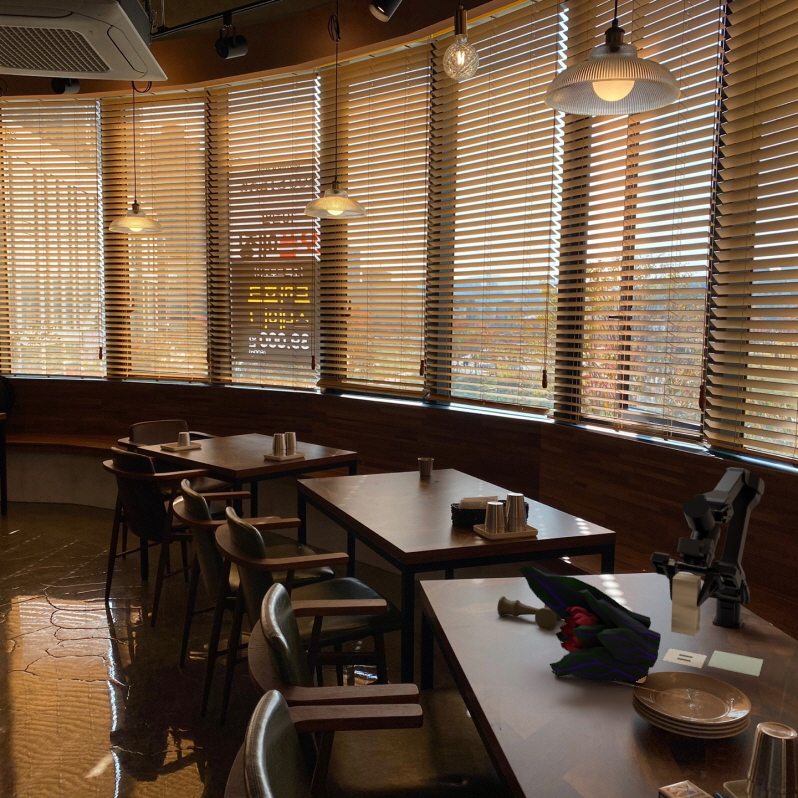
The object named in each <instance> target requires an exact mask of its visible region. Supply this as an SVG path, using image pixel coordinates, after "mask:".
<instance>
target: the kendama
mask: <svg viewBox="0 0 798 798" xmlns="http://www.w3.org/2000/svg"><path fill="white" fill-rule="evenodd" d="M496 609H497V614H498V616H499V617H505V615H506V616H508V615H509V616H512V617H514V618H518V617H519V616H528V615H529V616H531V615H534V620H535V624H536V625H537V627H538V628H540V629H542V630H545V629H546V631H551V630H554V629H555V627H556V626H557V621H561V620H563V619H562V618H560V617H558V616H557V615H556V614H555V613H554V612H553V611H552V610H551V609H550V608H549V607H547V606H546V605H545V604H544V607H540V608H537V607H533V606H530V605H526V604H524V603H522V602H521V601H520V600H519V599H516V600H511V599H507V597H505V596H504V595H503V596H500V597H499V599H498V602H497V608H496Z"/></svg>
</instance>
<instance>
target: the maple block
mask: <svg viewBox="0 0 798 798" xmlns="http://www.w3.org/2000/svg"><path fill="white" fill-rule="evenodd" d="M701 588H702V575H698V574H691V573H685V572H683V573H682V572H679V573H677V574H676V575H675V576H674V577H673V586H672V601H671V625H670V627H671V628H670V632H671V633H675V634H680V635H687V636H691V637H696V636H697V634H698V632H699V631H700V629H701V628H700V625H701V606H699V607H698V606H697V600H698V596H699V593H700V591H701Z"/></svg>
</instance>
